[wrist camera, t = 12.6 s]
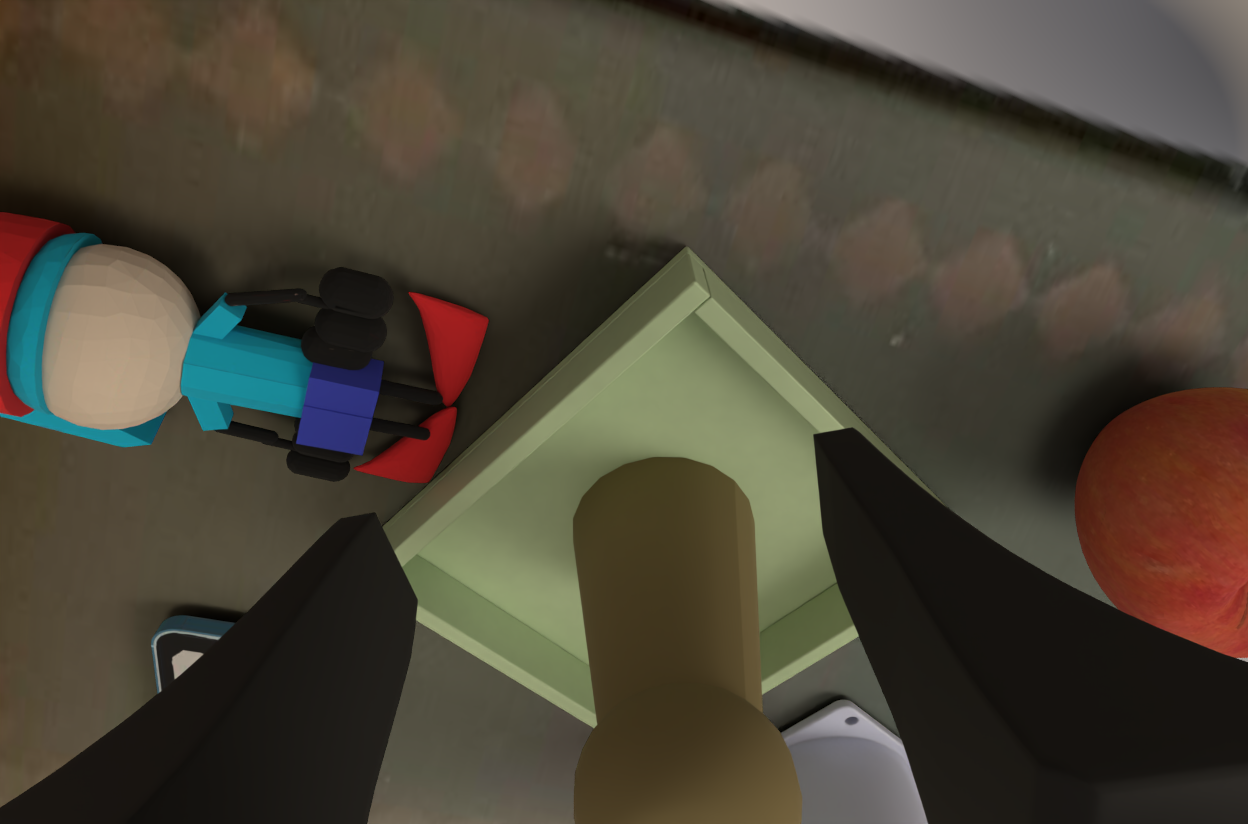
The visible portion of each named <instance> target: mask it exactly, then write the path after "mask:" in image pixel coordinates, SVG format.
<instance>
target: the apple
mask: <svg viewBox="0 0 1248 824" xmlns="http://www.w3.org/2000/svg"><path fill="white" fill-rule="evenodd" d="M1075 519H1076V526H1077V532H1078V536H1079V540H1080V544H1081V547H1082V551H1083V554H1084V556H1085V559H1086V561H1087V564H1088V566H1089V568H1090V570H1091V572H1092V574H1093V576H1094V578H1095V579H1096V581H1097V582H1098V584H1099V586H1100V587H1101V589H1102V590H1103V591H1104V593H1105V594H1106V595H1107V597H1108V598H1109V599H1110V600H1111V602H1112V603H1113V604H1114V605H1115V606H1116V607H1117V608H1118V609H1119V610H1120V611H1122V612H1124V613H1127V614H1129V615H1131V616H1133V617H1136V618H1138V619H1140V620H1142V621H1145V622H1147V623H1149V624H1151V625H1153V626H1156V627H1158V628H1160V629H1163V630H1165V631H1168V632H1170V633H1173V634H1175V635H1178V636H1180V637H1182V638H1185V639H1187V640H1190V641H1192V642H1195V643H1197V644H1200V645H1202V646H1204V647H1207V648H1209V649H1212V650H1215V651H1217V652H1220V653H1222V654H1225V655H1228V656H1231V657H1234V658H1247V657H1248V389H1241V388H1230V387H1211V388H1198V389H1189V390H1183V391H1178V392H1173V393H1169V394H1165V395H1161V396H1158V397H1155V398H1152V399H1149V400H1147V401H1144V402H1142V403H1140V404H1138V405H1135V406H1134V407H1132V408H1130V409H1128V410H1126V411H1125V412H1123V413H1121V414H1120V415H1118V416H1117V417H1116V418H1114V419H1113V420H1112V421H1111V422H1110V423H1109V424H1107V425H1106V426H1105V427H1104V429H1103V430H1102V431H1101V432H1100V433H1099V434H1098V436H1097V437H1096V439H1095V440H1094V442H1093V443H1092V445H1091V447H1090V448H1089V450H1088V452H1087V454H1086V456H1085V458H1084V460H1083V463H1082V466H1081V469H1080V472H1079V475H1078V478H1077V484H1076V491H1075Z"/></svg>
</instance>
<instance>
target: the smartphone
mask: <svg viewBox="0 0 1248 824" xmlns="http://www.w3.org/2000/svg"><path fill="white" fill-rule="evenodd" d="M234 624H235V623H233V622H226V621H220V620H213V619H207V618H200V617H193V616H185V615H178V616H173V617H170V618H168V619H166V620H164V621H163V622H162V624H161V625H160V627H159V628H158V630H157V631H156V633H155V635H154V636H153V638H152V641H151V648H152V655H153V663H154V671H155V678H156V686H157V694H158V693H159V692H161V691H162V690H163V689H164V688H165V687H167V686H168V685H169V684H170V683H171V682H173V681H174V680H175V679H176V678H177V677H178V676H179V675H181V674H182V673H183V672H184V671H185V670H186V669H187V668H189V667H190V666H191V665H192V664H193V663H194V662H195V661H196V660H197V659H199V658H200V657H201V656H202V655H203V654H204V653H205V652H206V651H207V650H208V649H209V648H210V647H211V646H212V645H213V644H214V643H215V642H216V641H217V640H219V639H220V638H221V637H222V636H223V635H224V634H225V633H226V632H227V631H228V630H229V629H230V628H231V627H232V626H233V625H234Z"/></svg>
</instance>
